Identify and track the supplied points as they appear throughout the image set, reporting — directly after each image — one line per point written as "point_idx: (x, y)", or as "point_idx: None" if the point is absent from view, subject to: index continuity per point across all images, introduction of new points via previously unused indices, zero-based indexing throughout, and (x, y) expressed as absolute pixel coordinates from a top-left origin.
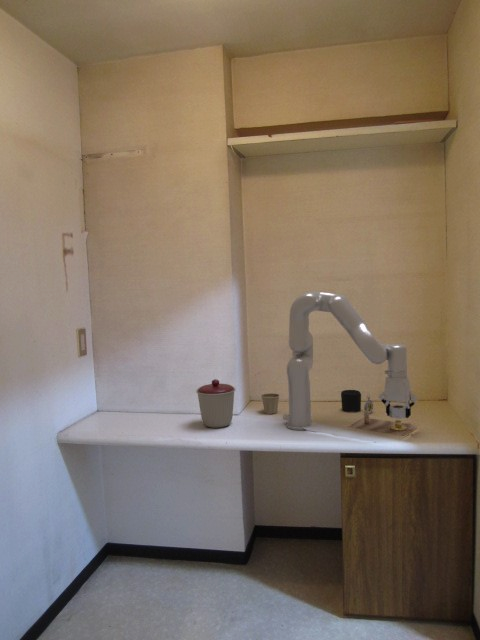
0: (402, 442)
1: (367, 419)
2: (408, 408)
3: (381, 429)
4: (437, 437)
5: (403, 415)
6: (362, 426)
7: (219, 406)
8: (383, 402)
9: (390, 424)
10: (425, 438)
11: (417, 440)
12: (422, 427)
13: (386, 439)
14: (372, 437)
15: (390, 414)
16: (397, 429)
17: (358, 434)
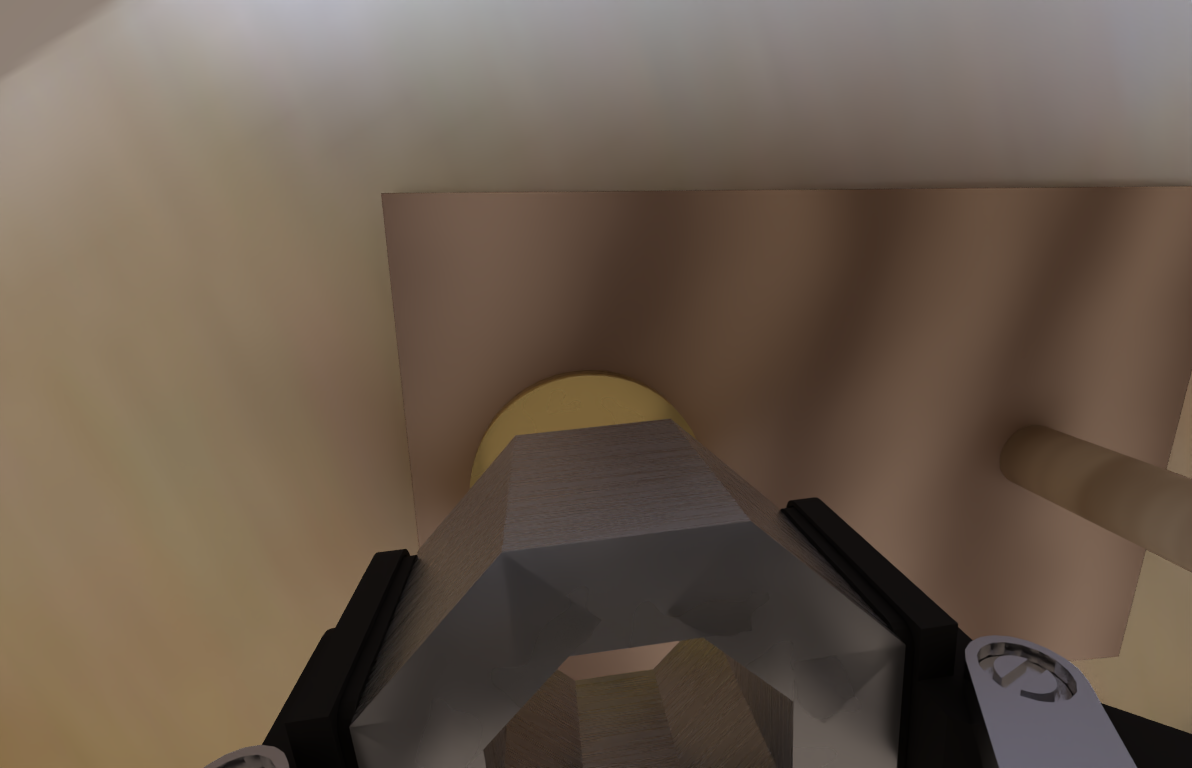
0: (332, 9)
1: (1074, 461)
2: (248, 751)
3: (778, 313)
4: (45, 496)
5: (442, 538)
6: (1052, 304)
7: None
8: (1188, 748)
9: None
10: (152, 373)
11: (196, 227)
12: None
13: (592, 27)
14: (801, 11)
15: (748, 490)
16: (558, 377)
17: (1016, 44)
